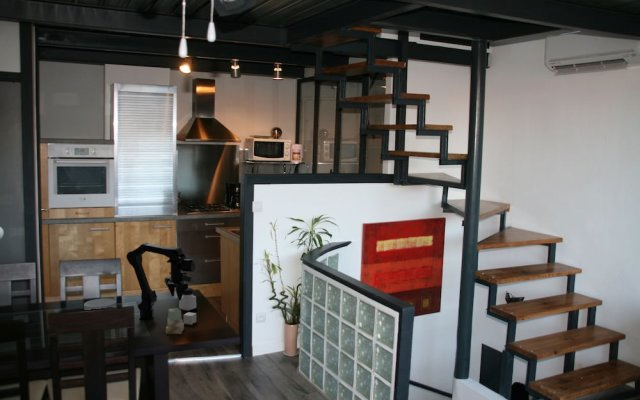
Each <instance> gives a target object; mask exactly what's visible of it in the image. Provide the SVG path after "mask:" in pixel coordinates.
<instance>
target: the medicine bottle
mask: <svg viewBox="0 0 640 400" xmlns="http://www.w3.org/2000/svg"><path fill="white" fill-rule="evenodd" d="M178 301H179V302H178V303H179V306H178V309H180V310H183V311H188V312H189V311H190V310H194V309H196V308H197V296H196V295H194V289H193V288H191V287H188V288H187V289H186V290H185V291H184V292H183V295H182V298H181V300H179V299H178Z"/></svg>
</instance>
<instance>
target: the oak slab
mask: <svg viewBox="0 0 640 400" xmlns="http://www.w3.org/2000/svg"><path fill="white" fill-rule="evenodd" d="M184 329H185V324H184V322H183V327H179V328H169V327H168V324H167V325H166V327H165V334H166V335H182V334H183V331H184Z"/></svg>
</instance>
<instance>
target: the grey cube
mask: <svg viewBox="0 0 640 400" xmlns="http://www.w3.org/2000/svg"><path fill="white" fill-rule="evenodd" d="M182 316H183V323H184V325H193V323H194V324H195V323H197V312H190V311H188V312H186V313H185V314H183V315H182Z"/></svg>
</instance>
